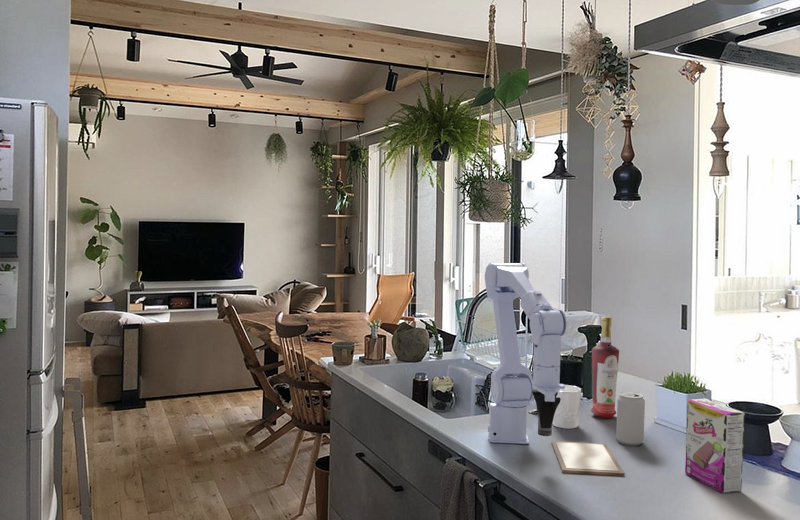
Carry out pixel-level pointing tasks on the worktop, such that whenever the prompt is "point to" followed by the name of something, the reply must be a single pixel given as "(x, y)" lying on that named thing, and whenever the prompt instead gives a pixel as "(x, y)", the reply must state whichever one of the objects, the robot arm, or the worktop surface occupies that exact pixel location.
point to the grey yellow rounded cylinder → (543, 429)
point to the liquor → (604, 373)
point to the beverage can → (630, 418)
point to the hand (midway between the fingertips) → (545, 425)
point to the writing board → (586, 458)
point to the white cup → (568, 407)
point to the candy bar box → (715, 444)
